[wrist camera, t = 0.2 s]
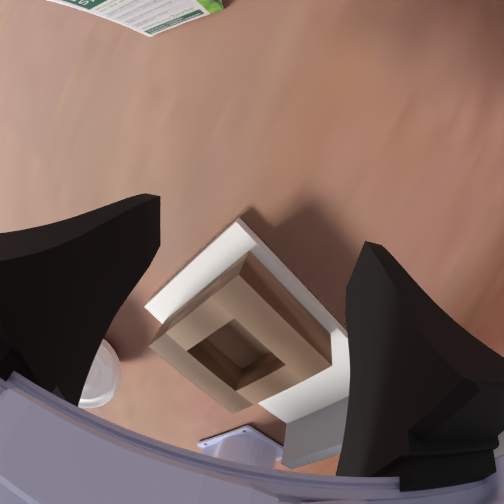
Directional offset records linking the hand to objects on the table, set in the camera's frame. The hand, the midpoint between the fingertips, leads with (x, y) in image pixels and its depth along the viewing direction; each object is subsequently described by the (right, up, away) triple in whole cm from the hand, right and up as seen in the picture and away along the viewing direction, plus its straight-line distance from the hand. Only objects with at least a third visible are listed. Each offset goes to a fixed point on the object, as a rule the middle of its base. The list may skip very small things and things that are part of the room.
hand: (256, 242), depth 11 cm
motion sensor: (-16, -10, +19) cm, 28 cm away
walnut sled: (-1, -6, +13) cm, 15 cm away
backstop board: (+2, -8, +15) cm, 17 cm away
